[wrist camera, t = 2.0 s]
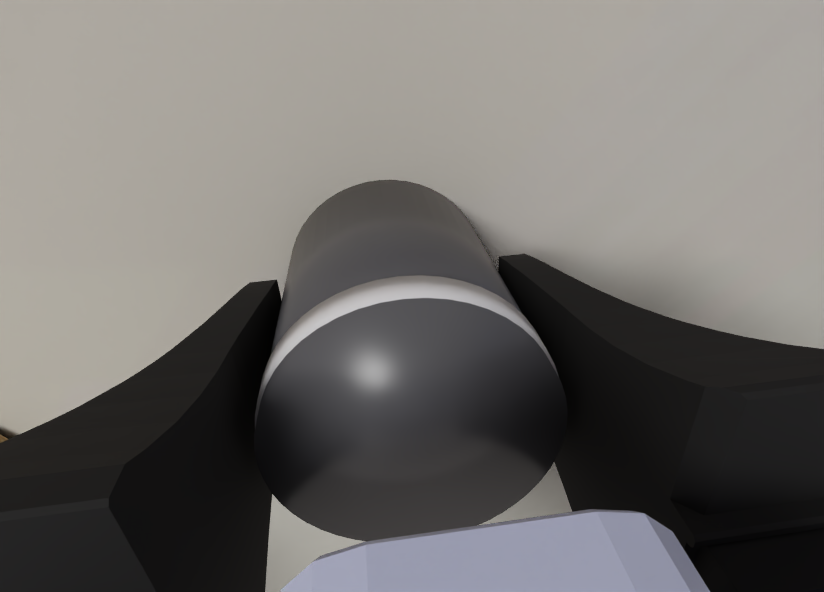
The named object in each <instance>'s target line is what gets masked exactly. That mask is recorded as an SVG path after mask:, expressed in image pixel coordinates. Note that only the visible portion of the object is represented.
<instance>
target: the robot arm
mask: <svg viewBox="0 0 824 592" xmlns="http://www.w3.org/2000/svg"><path fill="white" fill-rule="evenodd" d="M498 272H499V274H500V276H501V278H502V279H503V281H504V283H505V285H506V286H507V288H508V290H509V291H510V293H511V295H512V297H513V298H514V300H515V302H516V304H517V305H518V307H519V309H520V310H521V312H522V314H523V315H524V316H525V317H526V319H527V320H528V321H529V322H530V324H531V325H532V326H533V328H534V329H535V330H536V332H537V334H538V335H539V337H540V339H541V341H542V342H543V344H544V346H545V347H546V349H547V351H548V353H549V355H550V356H551V358H552V360H553V362H554V364H555V367H556V370H557V373H558V376H559V379H560V381H561V383H562V386H563V389H564V392H565V395H566V402H567V410H568V414H567V427H566V432H565V436H564V440H563V443H562V446H561V448H560V451H559V453H558V455H557V457H556V459H555V460H554V462H555V464H556V467H557V470H558V472H559V475H560V478H561V481H562V483H563V486H564V489H565V492H566V494H567V497H568V500H569V503H570V506H571V509H572V512H568V513H561V514H554V515H547V516H540V517H533V518H526V519H519V520H512V521H505V522H498V523H491V524H484V525H478V526H471V527H464V528H457V529H450V530H443V531H436V532H429V533H422V534H415V535H408V536H401V537H394V538H387V539H380V540H373V541H366V542H363V543H360V544H357V545H354V546H350V547H347V548H344V549H341V550H338V551H335V552H331V553H328V554H325V555H322V556H320V557H318V558H317V559H316V560H314V561H313V562H312V563H311V564H310V565H309V566H307V567H306V568H305V569H304V570H303V571H302V572H300V573H299V574H298V575H297V576H296V577H295V578H294V579H292V580H291V581H290V582H289V583H288V584H287V585H285V586H284V587H283V588H282V589H281V592H824V349H818V348H810V347H802V346H794V345H787V344H781V343H776V342H770V341H765V340H759V339H754V338H748V337H743V336H738V335H734V334H729V333H725V332H720V331H716V330H712V329H708V328H705V327H701V326H697V325H693V324H689V323H685V322H682V321H679V320H675V319H672V318H669V317H666V316H663V315H660V314H657V313H654V312H651V311H648V310H645V309H643V308H640V307H637V306H634V305H632V304H629V303H627V302H624V301H622V300H620V299H617V298H615V297H613V296H610V295H608V294H606V293H604V292H601V291H599V290H597V289H595V288H593V287H591V286H589V285H587V284H585V283H582V282H580V281H578V280H576V279H575V278H573V277H571V276H569V275H567V274H565V273H563V272H561V271H559V270H557V269H555V268H553V267H551V266H549V265H547V264H546V263H544V262H542V261H540V260H538V259H535V258H533V257H531V256H528V255H526V254H520V255H510V256H501V257H499V270H498ZM281 303H282V301H281V296H280V291H279V287H278V282H277V280H270V281H261V282H251V283H249V284H247V285H246V286H245V287H243V288H242V289H241V290H240V291H239V292H238V293H237V294H236V295H234V296H233V297H232V298H231V299H230V300H229V301H228V302H227V303H226V304H225V305H224V306H222V307H221V308H220V309H219V310H218V311H217V312H216V313H215V314H214V315H212V316H211V317H210V318H209V319H208V320H207V321H206V322H205V323H203V324H202V325H201V326H200V327H199V328H197V329H196V330H195V331H194V332H192V333H191V334H190V335H189V336H188V337H186V338H185V339H184V340H183V341H181V342H180V343H179V344H178V345H176V346H175V347H174V348H173V349H171V350H170V351H169V352H167V353H166V354H165V355H163V356H162V357H160V358H159V359H158V360H156V361H155V362H153V363H152V364H150V365H149V366H147V367H146V368H144V369H143V370H141V371H140V372H138V373H137V374H135V375H134V376H132V377H130V378H129V379H127V380H126V381H124V382H122V383H120V384H119V385H117V386H115V387H113V388H111V389H110V390H108V391H106V392H104V393H102V394H101V395H99V396H97V397H95V398H94V399H92V400H90V401H88V402H86V403H85V404H83V405H81V406H79V407H77V408H75V409H73V410H71V411H69V412H67V413H65V414H63V415H61V416H59V417H57V418H55V419H53V420H51V421H48V422H46V423H44V424H42V425H40V426H37V427H35V428H33V429H31V430H29V431H26V432H24V433H22V434H20V435H17V436H15V437H13V438H10V439H8V440H6V441H3V442H1V443H0V592H265V584H266V567H267V552H268V537H269V524H270V512H271V500H272V493H271V491H270V490H269V488H268V486H267V485H266V483H265V482H264V480H263V478H262V476H261V473H260V471H259V468H258V466H257V461H256V456H255V452H254V433H255V412H256V406H257V400H258V395H259V391H260V386H261V382H262V377H263V374H264V371H265V368H266V365H267V362H268V360H269V358H270V355H271V350H272V345H273V340H274V336H275V331H276V326H277V321H278V317H279V312H280V307H281Z"/></svg>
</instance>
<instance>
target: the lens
mask: <svg viewBox="0 0 824 592" xmlns="http://www.w3.org/2000/svg"><path fill="white" fill-rule="evenodd" d="M567 414H568V410H567V402H566V395H565V392H564V389H563V386H562V383H561V381H560V379H559V376H558V373H557V370H556V367H555V364H554V362H553V360H552V358H551V356H550V355H549V353H548V351H547V349H546V347H545V346H544V344H543V342H542V341H541V339H540V337H539V335H538V334H537V332H536V330H535V329H534V328H533V326H532V325H531V324H530V322H529V321H528V320H527V319H526V317H525V316H524V315H523V314H522V312H521V310H520V309H519V307H518V305H517V304H516V302H515V300H514V298H513V297H512V295H511V293H510V291H509V290H508V288H507V286H506V285H505V283H504V281H503V279H502V278H501V276H500V274H499V272H498V271H497V269H496V267H495V265H494V264H493V262H492V260H491V259H490V257H489V255H488V253H487V252H486V250H485V248H484V246H483V245H482V243H481V241H480V240H479V238H478V236H477V234H476V233H475V231H474V229H473V227H472V226H471V224H470V222H469V221H468V219H467V218H466V217H465V215H464V214H463V213H462V211H461V210H460V209H459V208H458V207H457V206H456V205H455V204H454V203H453V202H451V201H450V200H449V199H447V198H446V197H445V196H443V195H441V194H440V193H438V192H436V191H434V190H432V189H430V188H427V187H425V186H422V185H420V184H415V183H411V182H407V181H398V180H378V181H372V182H366V183H362V184H359V185H355V186H352V187H350V188H348V189H345V190H343V191H341V192H339V193H337V194H336V195H334V196H332V197H331V198H329V199H328V200H326V201H325V202H324V203H323V204H321V205H320V206H319V207H318V208H317V209H316V210H315V211H314V212H313V213H312V214H311V215H310V216H309V218H308V219H307V221H306V222H305V223H304V225H303V226H302V228H301V230H300V232H299V234H298V236H297V238H296V241H295V244H294V247H293V250H292V255H291V260H290V265H289V269H288V274H287V279H286V284H285V288H284V293H283V298H282V303H281V307H280V312H279V317H278V321H277V326H276V331H275V336H274V340H273V345H272V350H271V355H270V358H269V360H268V362H267V365H266V368H265V371H264V374H263V377H262V382H261V386H260V391H259V395H258V400H257V406H256V412H255V433H254V452H255V456H256V461H257V466H258V468H259V471H260V473H261V476H262V478H263V480H264V482H265V483H266V485H267V486H268V488H269V490H270V491H271V493H272V494H273V495H274V496H275V497H276V498H277V499H278V501H279V502H280V503H281V504H282V505H283V506H285V507H286V508H287V509H288V510H289V511H290V512H292V513H293V514H294V515H296V516H297V517H299V518H300V519H302V520H304V521H305V522H307V523H309V524H311V525H313V526H315V527H317V528H319V529H321V530H324V531H327V532H330V533H332V534H335V535H338V536H342V537H347V538H351V539H355V540H362V541H373V540H380V539H387V538H394V537H401V536H408V535H415V534H422V533H429V532H436V531H443V530H450V529H457V528H464V527H471V526H477V525H479V524H481V523H483V522H486V521H488V520H490V519H492V518H493V517H495V516H497V515H499V514H500V513H502V512H504V511H505V510H507V509H508V508H510V507H511V506H513V505H514V504H516V503H517V502H518V501H519V500H521V499H522V498H523V497H524V496H525V495H527V494H528V493H529V492H530V491H531V490H532V489H533V488H534V487H535V486H536V485H537V484H538V483H539V482H540V481H541V479H542V478H543V477H544V475H545V474H546V473H547V471H548V470H549V469H550V467H551V466H552V464H553V462H554V460H555V459H556V457H557V455H558V453H559V451H560V448H561V446H562V443H563V440H564V436H565V432H566V427H567Z"/></svg>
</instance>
